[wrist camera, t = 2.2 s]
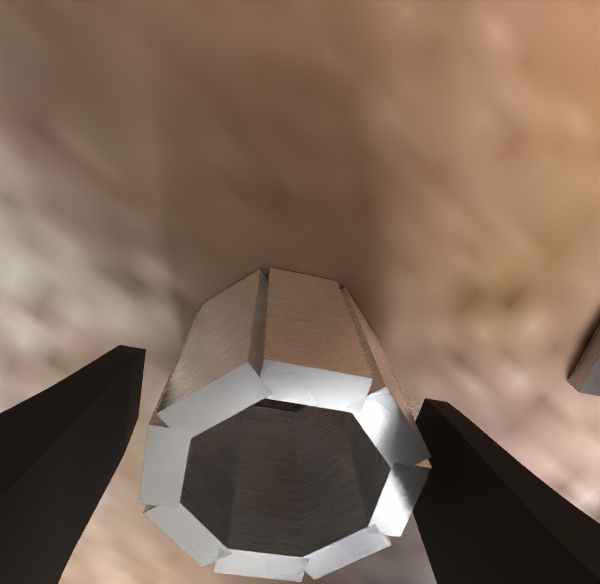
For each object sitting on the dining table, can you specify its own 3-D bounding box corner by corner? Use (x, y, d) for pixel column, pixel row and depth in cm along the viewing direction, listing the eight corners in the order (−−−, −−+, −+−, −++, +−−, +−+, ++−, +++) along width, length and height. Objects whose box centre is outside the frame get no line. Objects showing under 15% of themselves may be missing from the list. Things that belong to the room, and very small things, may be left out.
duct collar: (344, 439, 14) (375, 589, 10) (181, 413, 14) (130, 563, 9) (395, 293, 12) (465, 395, 8) (207, 253, 12) (159, 340, 7)
